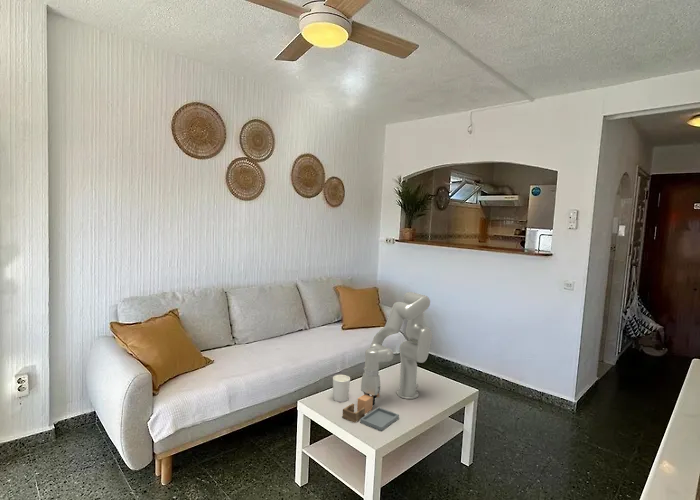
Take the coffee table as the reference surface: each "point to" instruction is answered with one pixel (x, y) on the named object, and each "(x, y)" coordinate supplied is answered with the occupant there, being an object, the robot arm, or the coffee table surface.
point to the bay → (350, 415)
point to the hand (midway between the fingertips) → (370, 404)
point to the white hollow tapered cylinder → (341, 388)
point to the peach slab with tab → (365, 403)
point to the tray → (379, 418)
